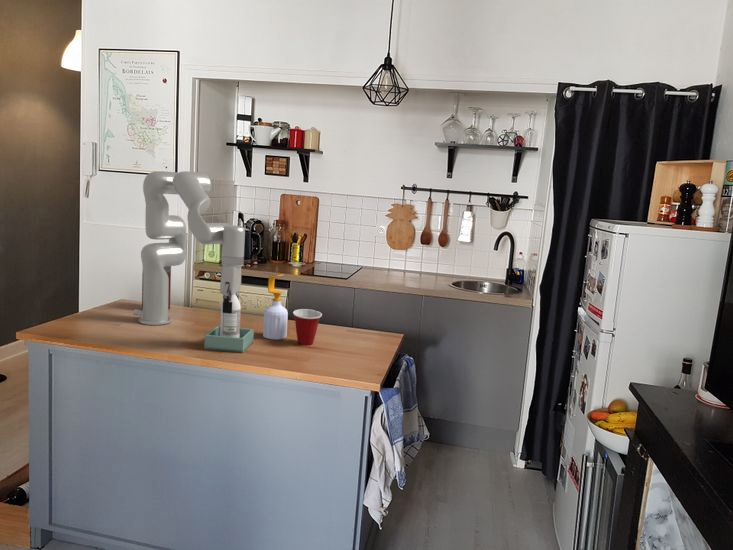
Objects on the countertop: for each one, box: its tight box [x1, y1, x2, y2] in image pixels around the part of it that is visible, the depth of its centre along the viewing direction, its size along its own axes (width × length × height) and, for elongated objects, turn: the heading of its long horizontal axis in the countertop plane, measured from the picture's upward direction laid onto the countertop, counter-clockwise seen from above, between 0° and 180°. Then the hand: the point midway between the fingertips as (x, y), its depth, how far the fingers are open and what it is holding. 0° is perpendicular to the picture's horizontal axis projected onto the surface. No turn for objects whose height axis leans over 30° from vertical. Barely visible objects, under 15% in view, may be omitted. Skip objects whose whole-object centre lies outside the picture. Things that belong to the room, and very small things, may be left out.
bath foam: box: [219, 292, 242, 338], centre depth 206 cm, size 7×7×20 cm
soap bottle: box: [262, 273, 289, 341], centre depth 222 cm, size 9×9×25 cm
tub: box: [203, 325, 255, 354], centre depth 208 cm, size 14×14×5 cm
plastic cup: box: [292, 308, 323, 346], centre depth 217 cm, size 11×11×12 cm
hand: (230, 310), depth 206 cm, fingers closed on bath foam, 7 cm apart
